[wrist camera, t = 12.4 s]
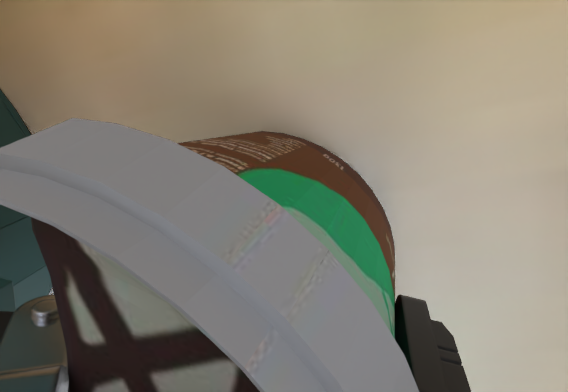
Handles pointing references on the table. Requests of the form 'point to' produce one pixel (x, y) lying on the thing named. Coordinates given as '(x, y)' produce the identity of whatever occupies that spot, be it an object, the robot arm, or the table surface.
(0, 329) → the robot arm
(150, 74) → the table surface
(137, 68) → the table surface
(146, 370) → the food container
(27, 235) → the pot
